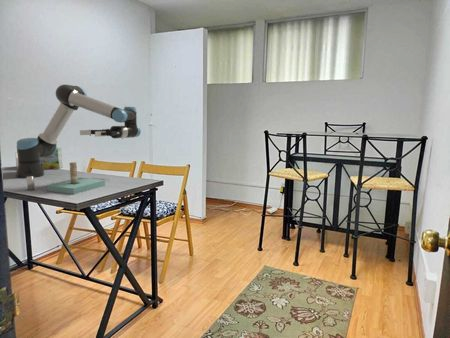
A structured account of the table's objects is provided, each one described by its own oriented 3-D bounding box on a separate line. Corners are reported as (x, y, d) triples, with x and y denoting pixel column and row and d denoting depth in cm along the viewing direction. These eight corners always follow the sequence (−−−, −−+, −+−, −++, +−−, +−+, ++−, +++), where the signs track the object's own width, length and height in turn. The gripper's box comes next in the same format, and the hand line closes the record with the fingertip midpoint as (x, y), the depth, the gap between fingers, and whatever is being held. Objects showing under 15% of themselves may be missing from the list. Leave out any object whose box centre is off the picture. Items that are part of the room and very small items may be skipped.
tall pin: (69, 189, 169) (68, 163, 166) (74, 187, 172) (73, 162, 169) (74, 189, 168) (72, 163, 165) (79, 188, 171) (77, 162, 168)
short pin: (26, 190, 165) (25, 176, 164) (32, 188, 168) (31, 175, 167) (30, 190, 164) (28, 177, 162) (36, 189, 166) (34, 176, 165)
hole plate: (47, 190, 164) (47, 185, 164) (80, 182, 185) (80, 177, 184) (74, 194, 158) (73, 188, 158) (105, 185, 179) (104, 180, 178)
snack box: (29, 168, 226) (27, 147, 223) (34, 167, 232) (32, 146, 229) (59, 169, 226) (57, 148, 223) (63, 167, 232) (61, 147, 229)
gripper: (132, 139, 189) (102, 141, 172) (105, 136, 202) (74, 138, 185) (132, 126, 188) (101, 127, 170) (105, 125, 201) (74, 125, 183)
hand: (87, 133), depth 178 cm, fingers open, 13 cm apart
